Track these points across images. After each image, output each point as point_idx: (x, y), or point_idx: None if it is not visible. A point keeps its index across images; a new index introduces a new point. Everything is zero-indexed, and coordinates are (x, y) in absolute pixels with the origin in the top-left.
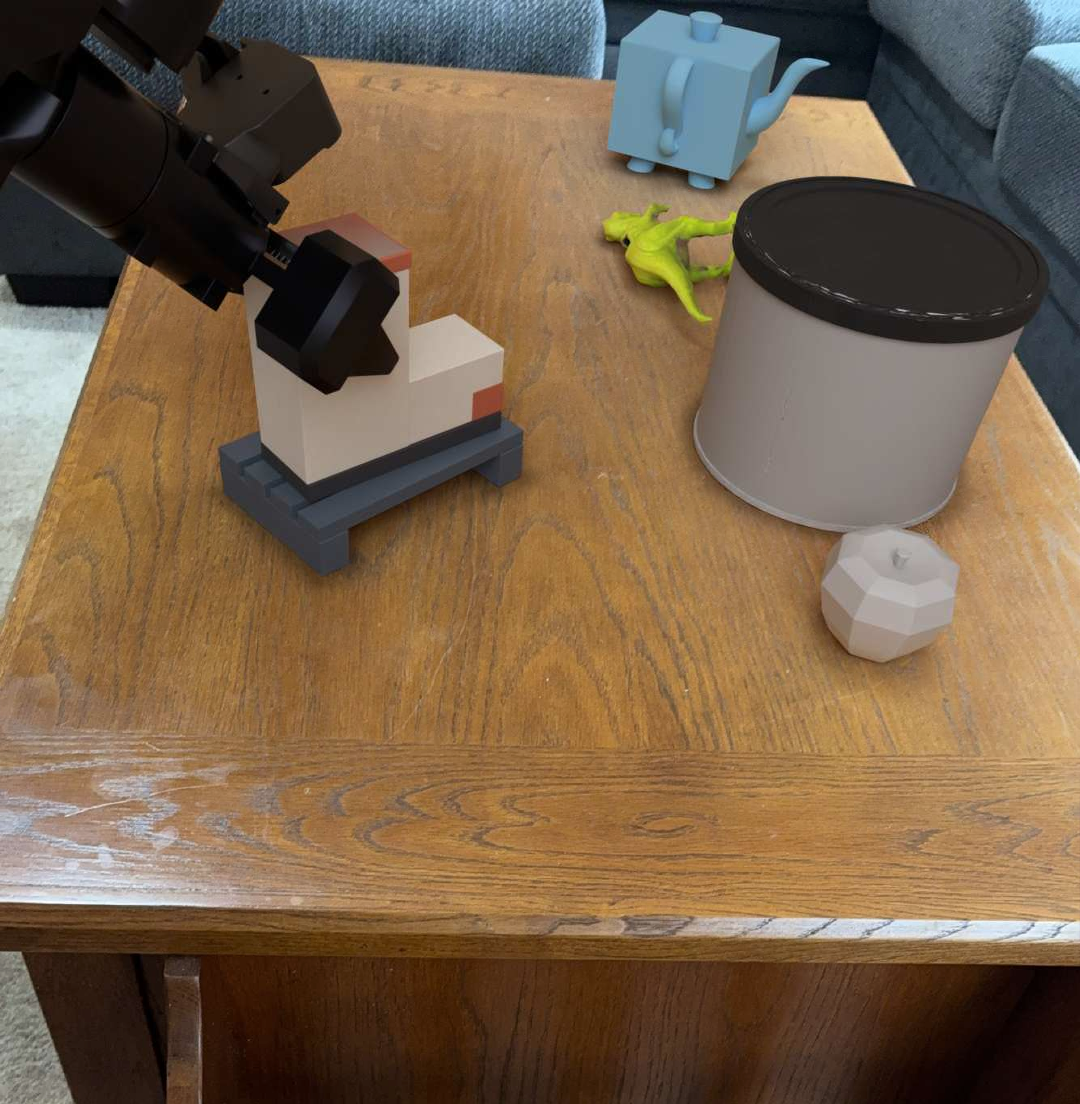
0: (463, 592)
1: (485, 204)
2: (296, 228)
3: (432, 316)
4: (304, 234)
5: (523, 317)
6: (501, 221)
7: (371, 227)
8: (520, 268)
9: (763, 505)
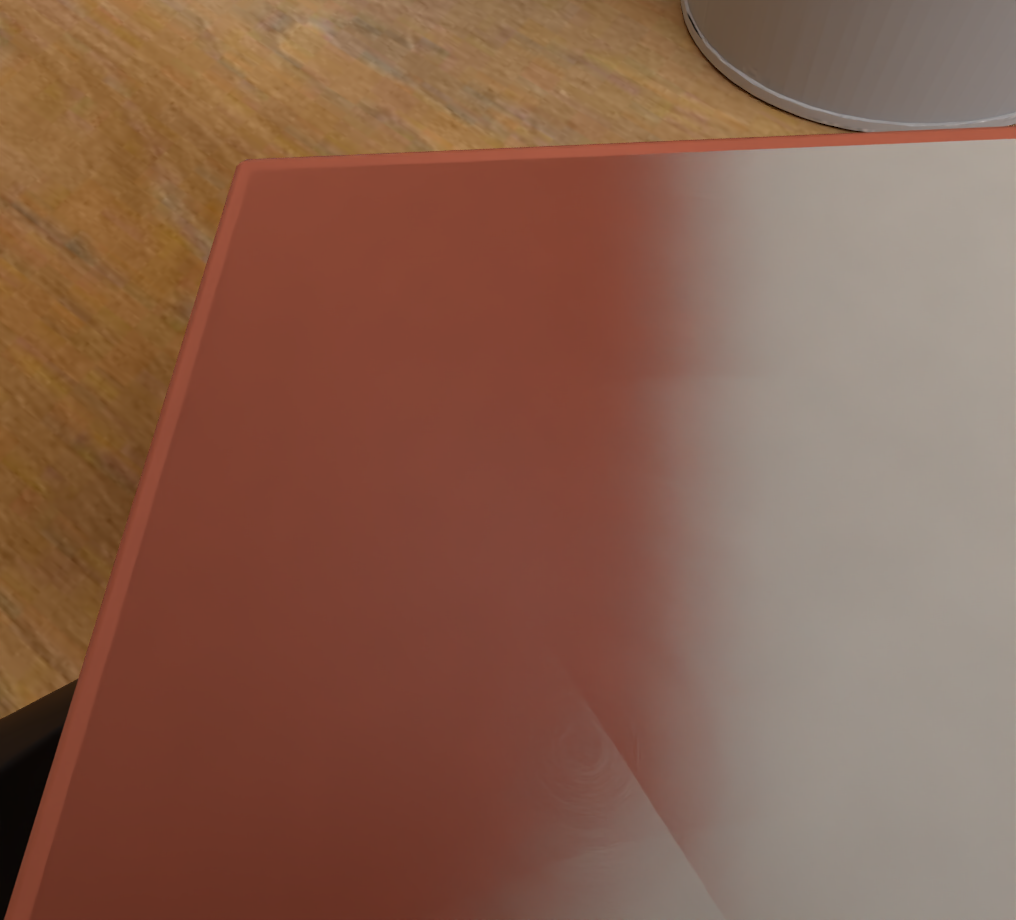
0: None
1: (44, 4)
2: (89, 729)
3: (207, 224)
4: (246, 747)
5: (318, 118)
6: (96, 10)
7: (510, 174)
8: (211, 53)
9: (1004, 119)
